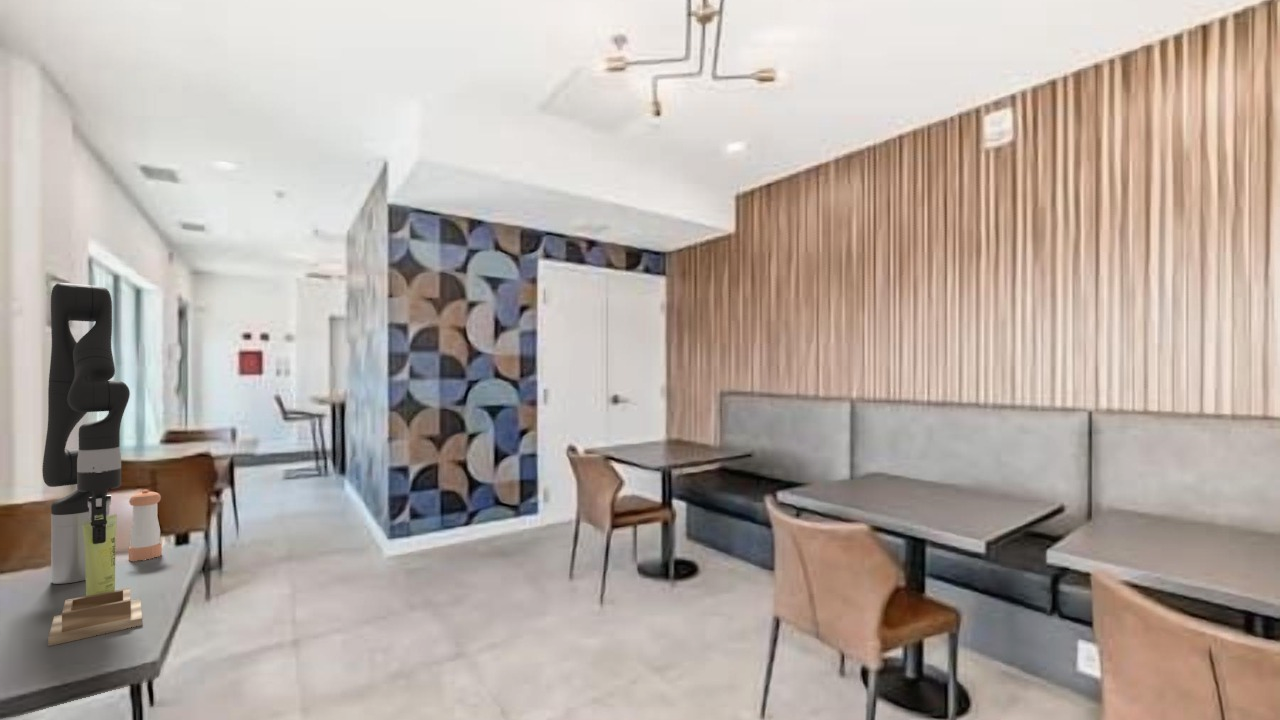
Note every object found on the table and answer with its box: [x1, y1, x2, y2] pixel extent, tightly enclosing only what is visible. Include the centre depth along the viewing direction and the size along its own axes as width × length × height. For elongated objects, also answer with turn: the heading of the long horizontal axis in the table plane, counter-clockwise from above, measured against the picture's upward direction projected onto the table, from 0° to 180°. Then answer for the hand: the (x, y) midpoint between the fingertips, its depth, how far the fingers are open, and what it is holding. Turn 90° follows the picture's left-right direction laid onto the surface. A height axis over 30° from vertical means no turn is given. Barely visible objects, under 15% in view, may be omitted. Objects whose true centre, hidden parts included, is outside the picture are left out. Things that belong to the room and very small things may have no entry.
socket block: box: [47, 587, 143, 647], centre depth 126 cm, size 14×14×5 cm
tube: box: [83, 513, 118, 596], centre depth 138 cm, size 6×5×20 cm
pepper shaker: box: [128, 489, 163, 562], centre depth 172 cm, size 7×7×19 cm
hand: (99, 539), depth 138 cm, fingers open, 8 cm apart
